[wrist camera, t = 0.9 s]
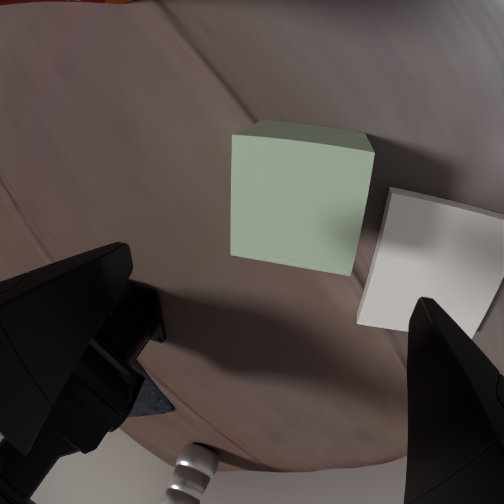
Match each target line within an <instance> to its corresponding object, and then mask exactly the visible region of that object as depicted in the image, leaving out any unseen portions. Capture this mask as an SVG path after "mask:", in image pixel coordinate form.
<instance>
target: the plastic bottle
mask: <svg viewBox="0 0 504 504" xmlns="http://www.w3.org/2000/svg"><path fill="white" fill-rule="evenodd" d="M218 465H219V459H218V456H217V455H216V454H215V453H214V452H213V451H211V450H209V449H207V448H205V447H203V446H200V445H196V444H188V445H186V446H184V447H183V448H182V450H181V451H180V453H179V455H178V458H177V462H176V467H175V470H174V473H173V476H172V479H171V482H170V484H169V486H168V489H167V490H166V491H165V493H164V495H163V497H162V498H161V500H160V501H159V502H158V504H200V500H201V499H202V496H203V494H204V492H205V490H206V488H207V486H208V484H209V482H210V479H212V478H213V476H214V475H215V473H216V471H217V469H218Z"/></svg>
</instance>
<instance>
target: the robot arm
mask: <svg viewBox="0 0 504 504" xmlns="http://www.w3.org/2000/svg"><path fill="white" fill-rule="evenodd" d="M132 270H133V262H132V257H131V252H130V247H129V245H128V244H126V243H121V242H115V243H112V244H109V245H106V246H102V247H99V248H96V249H93V250H90V251H87V252H84V253H81V254H78V255H75V256H72V257H69V258H66V259H64V260H61V261H58V262H55V263H52V264H49V265H46V266H43V267H41V268H38V269H35V270H32V271H29V272H28V273H24V274H21V275H18V276H16V277H13V278H10V279H7V280H4V281H1V282H0V437H1V435H2V436H3V437H2V438H1V440H0V504H36V503H34V502H33V501H31V499H30V497H31V496H32V495H33V493H34V492H35V490H36V489H37V488H38V486H39V485H40V483H41V482H42V480H43V479H44V478H45V476H46V475H47V474H48V472H49V471H50V469H51V468H52V467H53V465H54V464H55V463H56V461H57V460H58V459H59V458H60V457H62V456H65V455H69V454H73V453H76V452H79V451H81V452H82V453H84V454H86V453H88V452H90V451H93V450H95V449H96V448H97V447H98V445H99V444H100V442H101V441H102V439H103V438H104V436H105V435H106V434H107V432H113V431H114V430H116V429H117V428H118V427H119V426H120V425H121V424H122V423H123V422H124V421H125V420H126V418H127V417H128V415H129V414H130V412H131V410H132V408H133V406H134V404H135V401H136V399H137V397H138V394H139V392H140V390H141V387H142V385H143V383H144V381H145V377H144V376H143V375H142V374H139V373H138V372H137V371H136V370H135V369H134V368H133V367H131V366H132V364H133V363H134V361H135V360H136V359H137V357H138V356H139V354H140V353H141V351H142V350H143V348H144V347H145V346H146V344H147V343H148V341H149V340H150V339H151V340H154V341H157V342H160V343H164V341H165V340H166V336H165V331H164V326H163V321H162V316H161V310H160V305H159V299H158V294H157V293H156V292H155V291H154V290H152V289H148V288H144V287H140V286H136V285H132V284H129V283H126V282H127V280H128V278H129V276H130V275H131V273H132ZM407 390H408V451H407V471H406V486H405V496H404V504H504V377H503V375H502V374H500V372H499V371H498V369H497V368H496V367H495V366H494V365H493V363H492V362H491V361H490V360H489V359H488V358H487V356H486V355H485V354H484V353H483V352H482V351H481V350H480V348H479V347H478V346H477V345H476V344H475V343H474V342H473V341H472V339H471V338H470V337H469V336H468V335H467V334H466V333H465V332H464V331H463V330H462V328H461V327H460V326H459V325H458V324H457V323H456V322H455V321H454V320H453V319H452V318H451V317H450V316H449V315H448V313H447V312H446V311H445V310H444V309H443V308H442V307H441V306H440V305H439V304H438V303H437V302H436V301H435V300H434V299H433V298H428V297H420V298H419V299H418V300H417V303H416V305H415V308H414V310H413V312H412V315H411V317H410V320H409V325H408V356H407Z"/></svg>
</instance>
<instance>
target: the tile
mask: <svg viewBox="0 0 504 504" xmlns="http://www.w3.org/2000/svg"><path fill="white" fill-rule="evenodd" d="M503 277H504V215H503V214H500V213H496V212H493V211H489V210H486V209H482V208H478V207H475V206H471V205H467V204H463V203H459V202H455V201H451V200H447V199H443V198H439V197H435V196H430V195H426V194H421V193H417V192H412V191H408V190H403V189H398V188H393V187H389V191H388V196H387V201H386V206H385V210H384V215H383V219H382V224H381V228H380V232H379V236H378V240H377V244H376V248H375V252H374V256H373V260H372V264H371V267H370V271H369V275H368V278H367V282H366V285H365V289H364V292H363V296H362V299H361V302H360V305H359V309H358V312H357V324H361V325H367V326H373V327H380V328H387V329H393V330H400V331H407V332H408V325H409V320H410V317H411V315H412V312H413V310H414V308H415V305H416V303H417V300H418V299H419V298H420V297H428V298H433V299H434V300H435V301H436V302H437V303H438V304H439V305H440V306H441V307H442V308H443V309H444V310H445V311H446V312H447V313H448V315H449V316H450V317H451V318H452V319H453V320H454V321H455V322H456V323H457V324H458V325H459V326H460V327H461V328H462V330H463V331H464V332H465V333H466V334H467V335H468V336H469V337H470V338H471V339H472V337H473V335H474V334H475V332H476V330H477V328H478V327H479V325H480V323H481V321H482V319H483V318H484V316H485V314H486V312H487V310H488V308H489V306H490V304H491V302H492V300H493V298H494V296H495V294H496V292H497V290H498V288H499V286H500V284H501V282H502V279H503Z"/></svg>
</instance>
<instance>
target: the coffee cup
mask: <svg viewBox="0 0 504 504" xmlns="http://www.w3.org/2000/svg"><path fill="white" fill-rule="evenodd" d="M131 1H133V0H0V6H1V5H9V4H18V3H29V2H91V3H109V4H122V3H127V2H131Z"/></svg>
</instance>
